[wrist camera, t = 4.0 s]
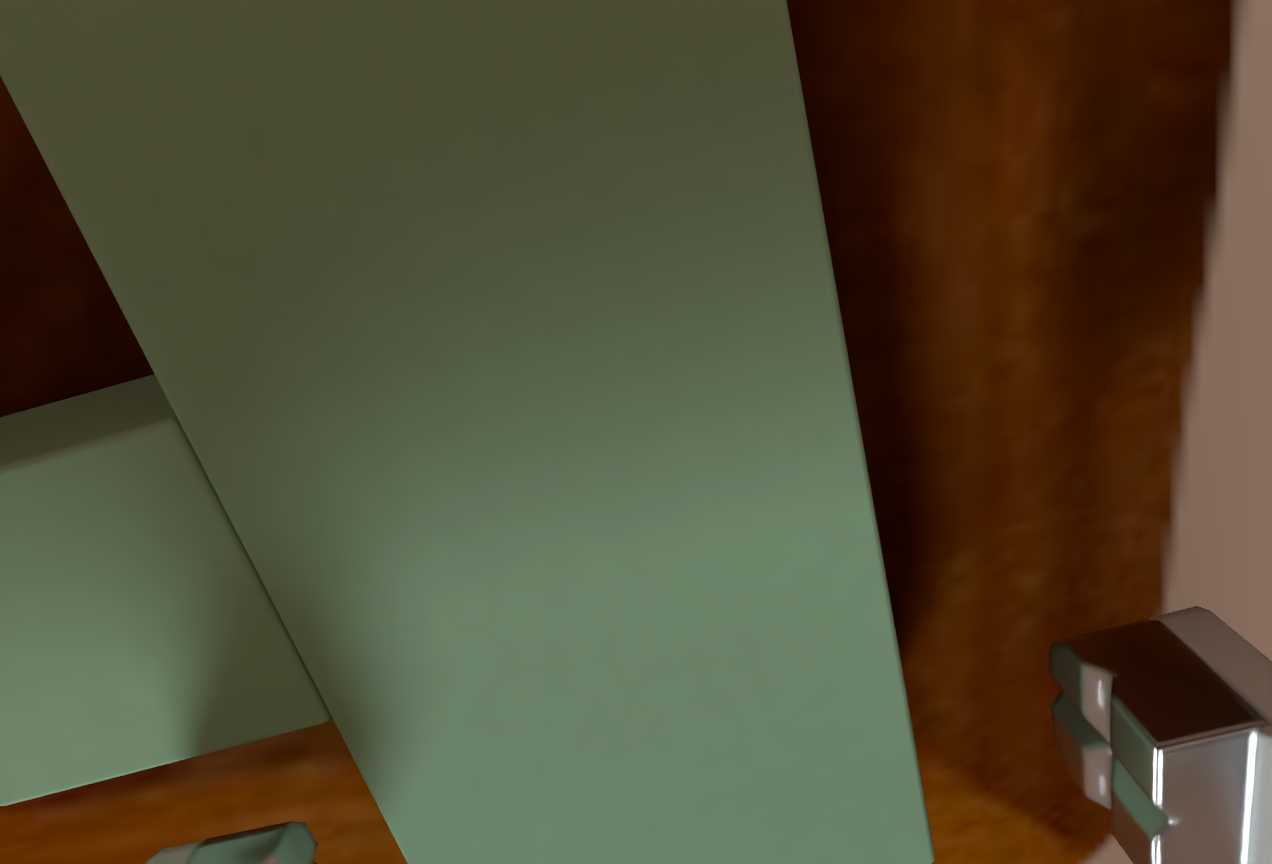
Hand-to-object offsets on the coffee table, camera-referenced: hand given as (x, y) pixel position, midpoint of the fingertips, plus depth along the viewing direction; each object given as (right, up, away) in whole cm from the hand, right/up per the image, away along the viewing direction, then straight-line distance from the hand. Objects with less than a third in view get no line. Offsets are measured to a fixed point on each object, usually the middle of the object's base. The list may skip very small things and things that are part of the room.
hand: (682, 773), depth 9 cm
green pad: (-3, +3, +1) cm, 5 cm away
